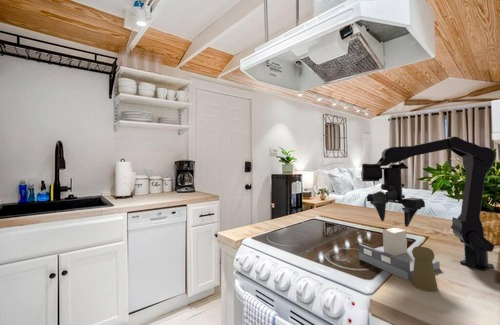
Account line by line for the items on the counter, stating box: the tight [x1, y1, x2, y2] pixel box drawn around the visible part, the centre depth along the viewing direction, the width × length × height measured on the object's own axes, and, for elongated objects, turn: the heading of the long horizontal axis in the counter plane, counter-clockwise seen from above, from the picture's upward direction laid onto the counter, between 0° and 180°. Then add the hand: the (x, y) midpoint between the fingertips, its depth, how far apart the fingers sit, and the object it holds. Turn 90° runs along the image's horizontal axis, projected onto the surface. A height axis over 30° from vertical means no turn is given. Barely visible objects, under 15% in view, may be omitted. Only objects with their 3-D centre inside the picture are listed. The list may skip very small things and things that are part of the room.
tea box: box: [382, 227, 408, 256], centre depth 87 cm, size 6×5×8 cm
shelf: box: [358, 243, 441, 281], centre depth 83 cm, size 16×18×6 cm
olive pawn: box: [411, 246, 438, 292], centre depth 68 cm, size 6×6×11 cm
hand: (394, 223), depth 87 cm, fingers open, 9 cm apart
